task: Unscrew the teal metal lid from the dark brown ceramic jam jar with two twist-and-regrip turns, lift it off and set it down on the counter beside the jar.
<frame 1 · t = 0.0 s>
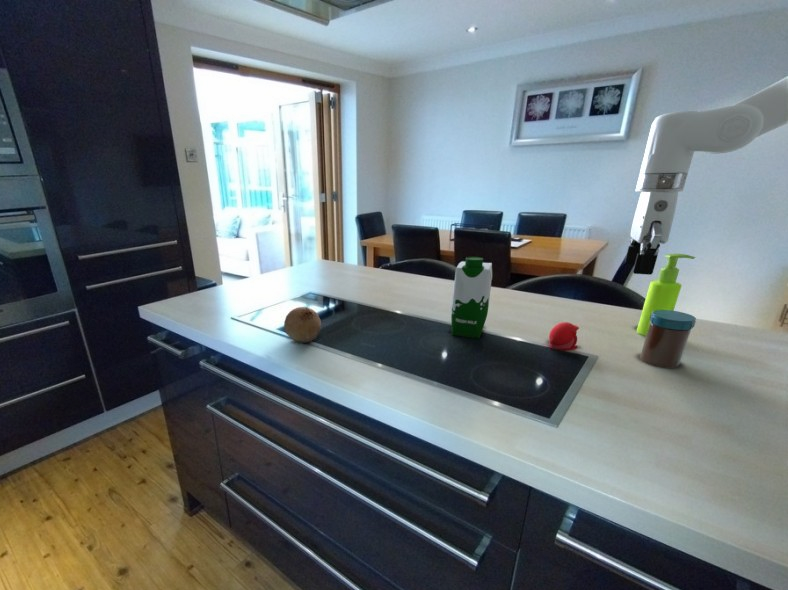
hand: (637, 268, 84), 19 cm above the table, tool pointing down, fingers open, 9 cm apart
brown round piece: (303, 340, 101), on the table
lid: (672, 317, 79), point 11 cm above the table, screwed on, not yet turned
soap dispenser: (652, 334, 99), on the table
jar: (657, 364, 83), on the table
cap: (561, 348, 92), on the table
milk carton: (467, 332, 103), on the table
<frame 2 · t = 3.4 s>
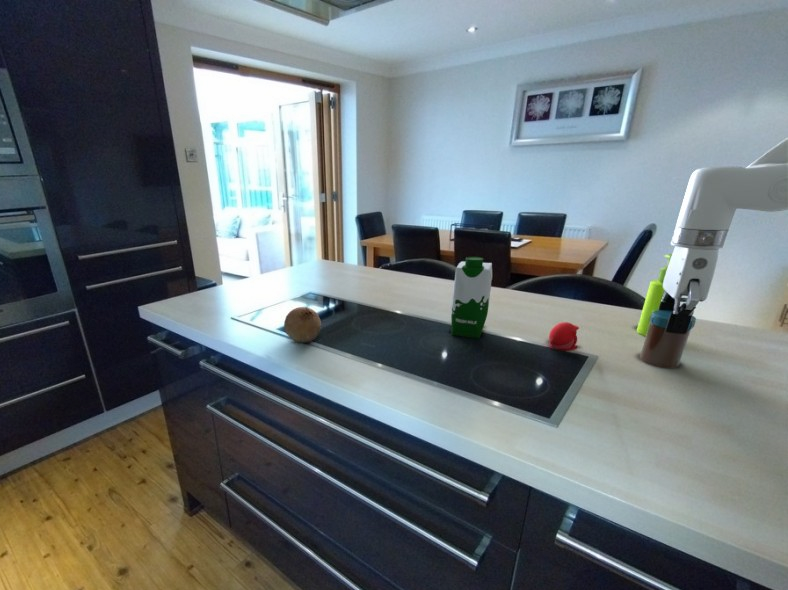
hand: (670, 325, 80), 9 cm above the table, tool pointing down, fingers closed on lid, 7 cm apart
lid: (672, 317, 79), point 11 cm above the table, screwed on, not yet turned, touching gripper
everything else where it was.
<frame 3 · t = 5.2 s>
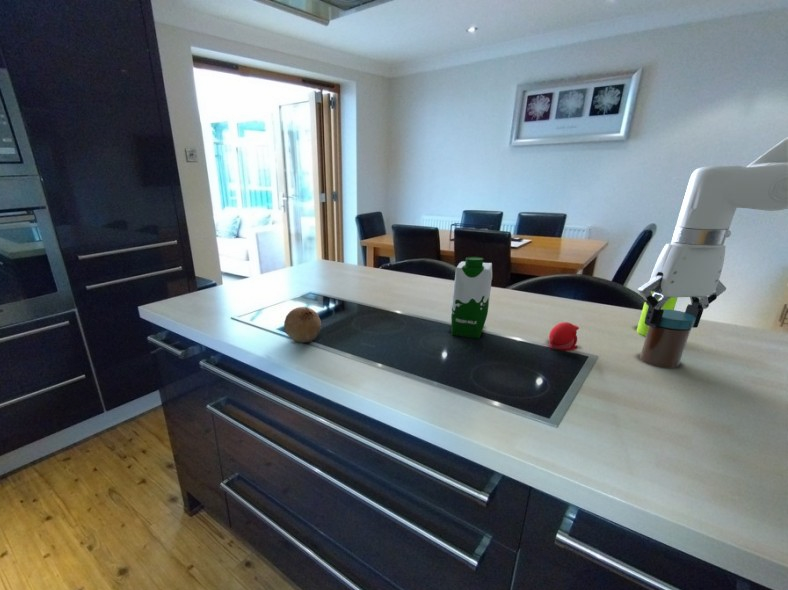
hand: (670, 325, 80), 9 cm above the table, tool pointing down, fingers closed on lid, 7 cm apart
lid: (673, 316, 79), point 11 cm above the table, turned 115° so far, risen 0.1 cm, still on its thread, touching gripper
everything else where it was.
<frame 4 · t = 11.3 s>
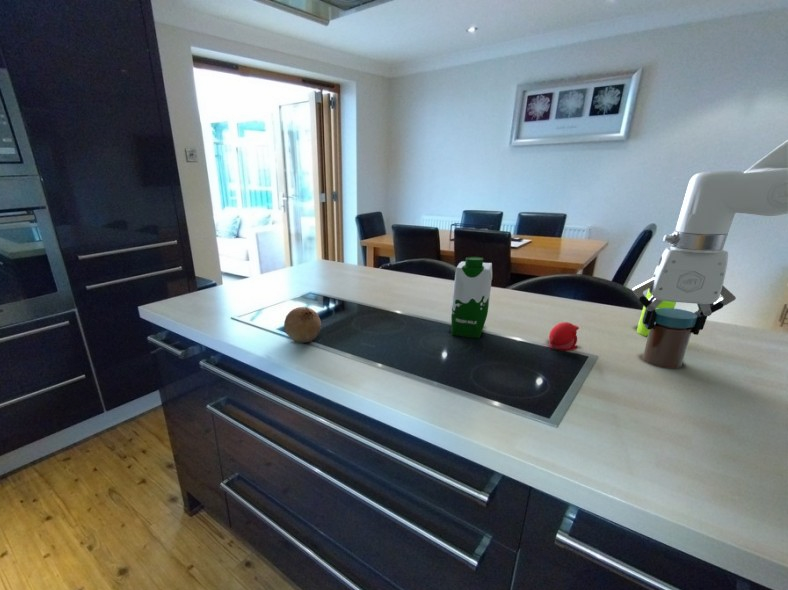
hand: (670, 329, 80), 8 cm above the table, tool pointing down, fingers closed on lid, 6 cm apart
lid: (674, 315, 79), point 11 cm above the table, turned 269° so far, risen 0.4 cm, still on its thread, touching gripper
everything else where it was.
when the fingers open (8 cm above the table, at t = 14.0 s): lid stays where it is, point 11 cm above the table.
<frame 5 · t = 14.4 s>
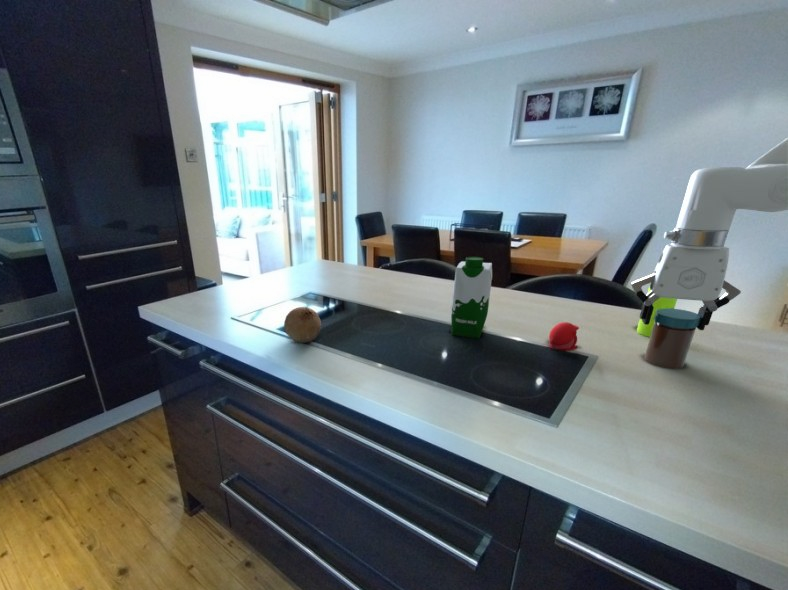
hand: (671, 324, 80), 9 cm above the table, tool pointing down, fingers open, 8 cm apart
lid: (677, 315, 79), point 11 cm above the table, turned 269° so far, risen 0.4 cm, still on its thread, touching gripper
everything else where it was.
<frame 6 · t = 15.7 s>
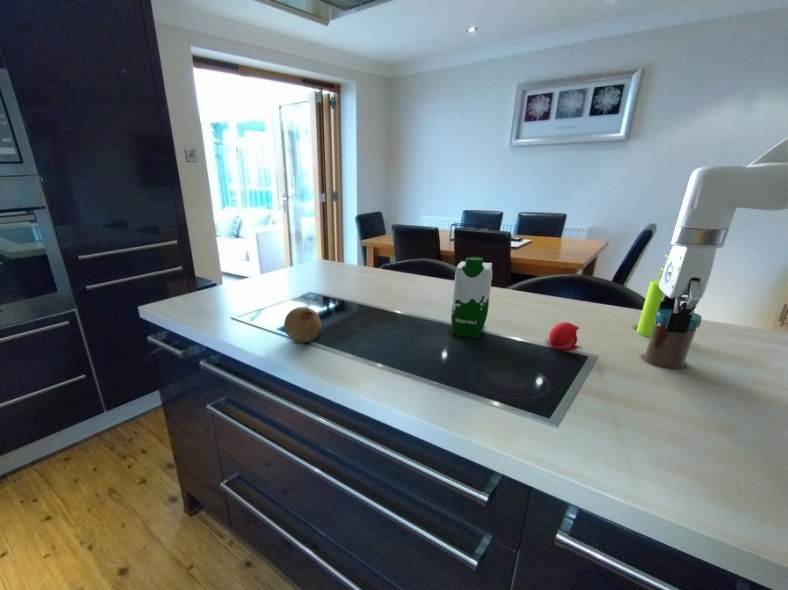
hand: (670, 325, 80), 9 cm above the table, tool pointing down, fingers closed on lid, 7 cm apart
lid: (678, 315, 79), point 11 cm above the table, turned 263° so far, risen 0.4 cm, still on its thread, touching gripper
everything else where it was.
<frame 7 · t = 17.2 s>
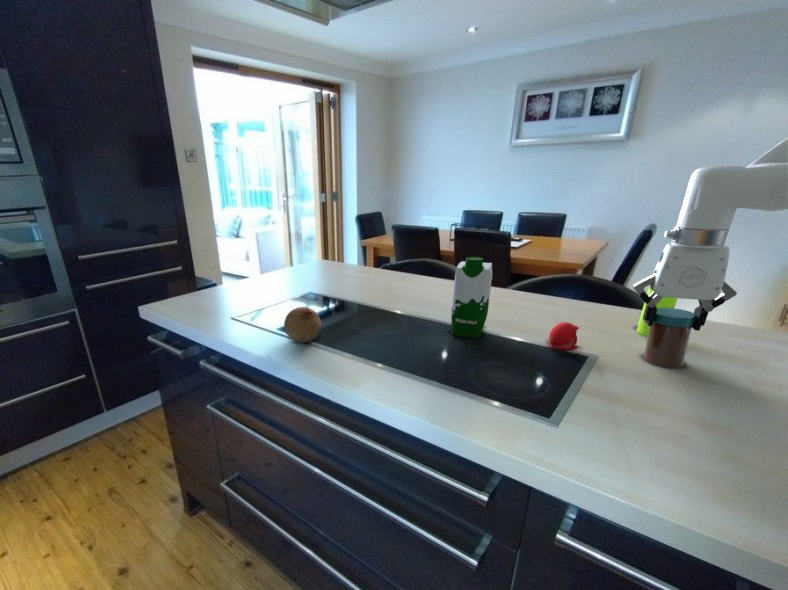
hand: (671, 325, 80), 9 cm above the table, tool pointing down, fingers closed on lid, 7 cm apart
lid: (672, 314, 80), point 11 cm above the table, off its thread, touching gripper
jar: (662, 363, 83), on the table, tilted 5°
everything else where it was.
when the fingers open (0 cm above the table, at t = 26.5 s): lid stays where it is, point 1 cm above the table.
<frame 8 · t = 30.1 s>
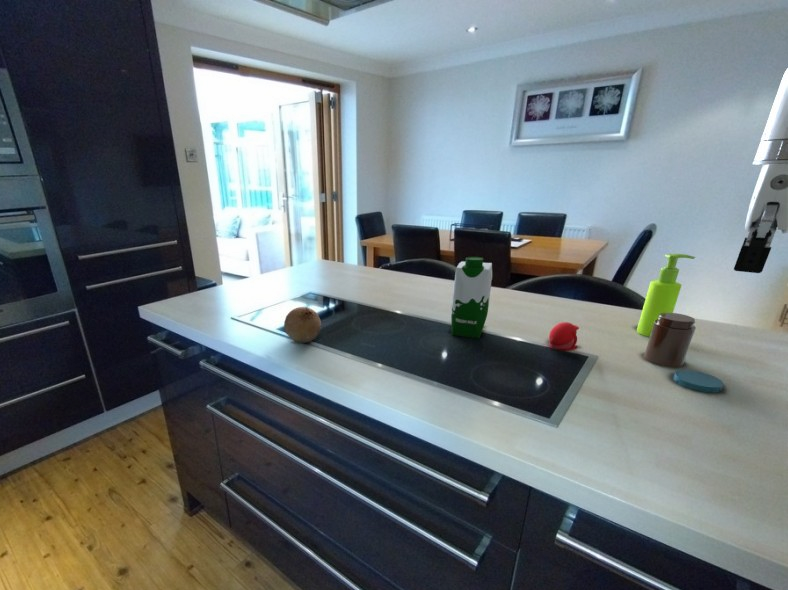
hand: (748, 266, 65), 23 cm above the table, tool pointing down, fingers open, 9 cm apart
lid: (697, 379, 74), point 1 cm above the table, off its thread
jar: (661, 363, 83), on the table
everything else where it was.
at the end: lid came off its thread; lid point 1.5 cm above the table; the gripper is holding nothing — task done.
